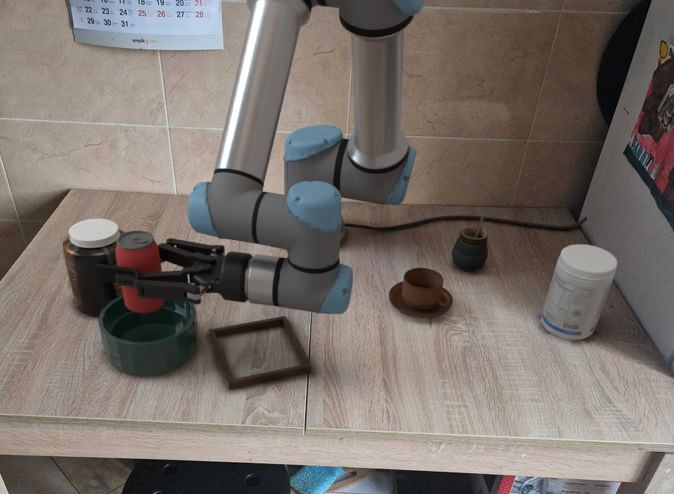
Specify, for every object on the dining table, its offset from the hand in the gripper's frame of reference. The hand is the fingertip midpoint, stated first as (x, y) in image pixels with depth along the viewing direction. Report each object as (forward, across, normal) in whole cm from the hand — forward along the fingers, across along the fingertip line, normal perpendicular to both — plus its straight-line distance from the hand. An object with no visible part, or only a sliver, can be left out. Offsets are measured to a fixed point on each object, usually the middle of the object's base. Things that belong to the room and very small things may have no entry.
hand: (109, 260), depth 102 cm
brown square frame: (-23, +2, -17) cm, 29 cm away
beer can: (-5, 0, -8) cm, 9 cm away
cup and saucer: (-49, +23, -17) cm, 57 cm away
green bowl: (-5, 0, -17) cm, 18 cm away
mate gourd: (-58, +40, -17) cm, 73 cm away
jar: (+9, +12, -17) cm, 22 cm away
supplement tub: (-76, +23, -17) cm, 81 cm away
